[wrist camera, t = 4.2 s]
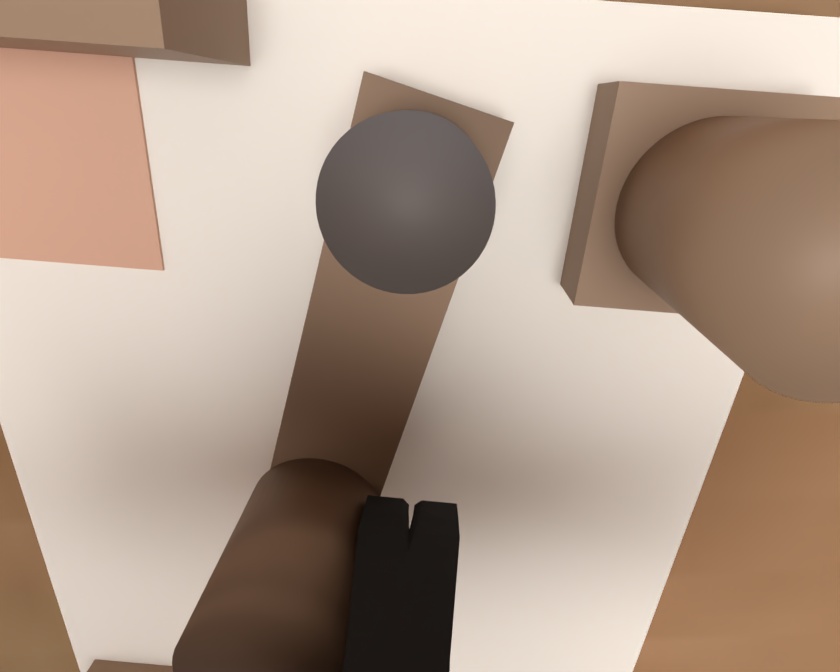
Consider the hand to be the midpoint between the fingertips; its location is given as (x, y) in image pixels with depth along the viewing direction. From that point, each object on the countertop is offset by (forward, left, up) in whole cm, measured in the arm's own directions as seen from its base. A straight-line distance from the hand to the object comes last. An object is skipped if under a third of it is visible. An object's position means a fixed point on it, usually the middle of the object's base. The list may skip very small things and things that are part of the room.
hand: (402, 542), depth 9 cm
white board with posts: (-1, +1, -3) cm, 4 cm away
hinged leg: (+3, +1, -1) cm, 3 cm away
